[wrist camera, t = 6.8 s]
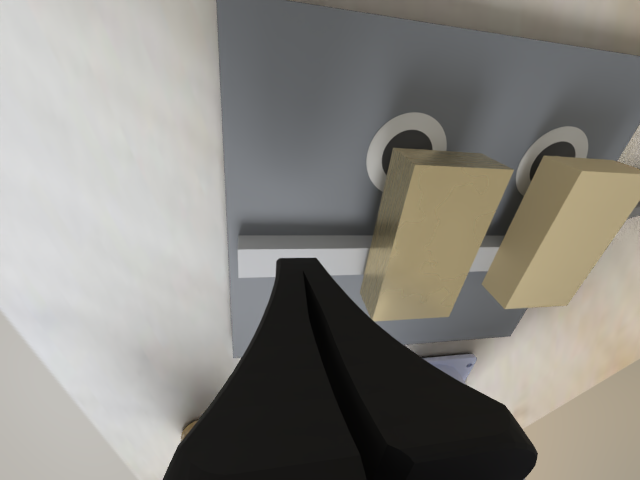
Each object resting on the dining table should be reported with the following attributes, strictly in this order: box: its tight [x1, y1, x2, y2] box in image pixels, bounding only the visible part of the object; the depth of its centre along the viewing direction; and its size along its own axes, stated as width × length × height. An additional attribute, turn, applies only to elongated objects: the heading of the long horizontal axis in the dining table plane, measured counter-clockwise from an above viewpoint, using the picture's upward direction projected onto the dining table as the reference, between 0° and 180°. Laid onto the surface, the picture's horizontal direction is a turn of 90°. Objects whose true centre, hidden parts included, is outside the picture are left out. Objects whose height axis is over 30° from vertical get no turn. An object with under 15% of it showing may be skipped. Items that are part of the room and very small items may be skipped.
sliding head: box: [360, 148, 514, 321], centre depth 15 cm, size 8×4×3 cm, turn 173°
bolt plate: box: [216, 0, 640, 358], centre depth 16 cm, size 18×20×4 cm
